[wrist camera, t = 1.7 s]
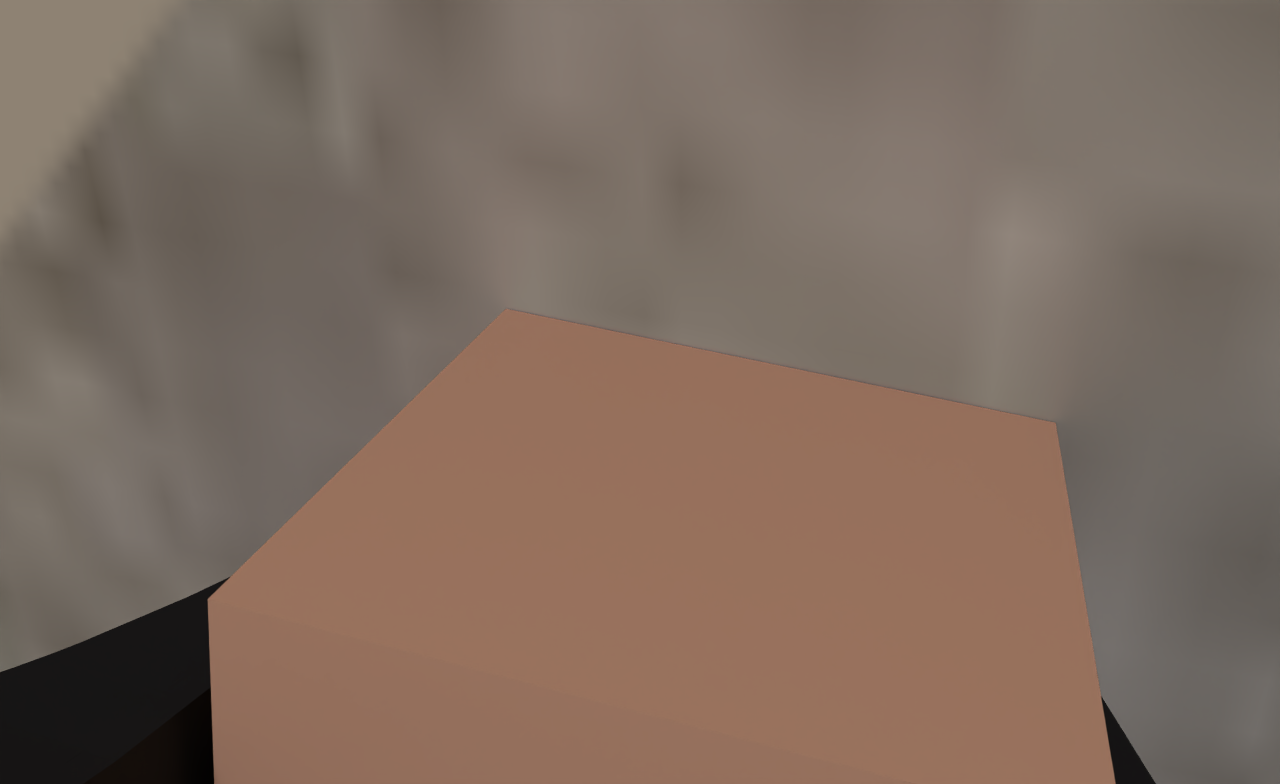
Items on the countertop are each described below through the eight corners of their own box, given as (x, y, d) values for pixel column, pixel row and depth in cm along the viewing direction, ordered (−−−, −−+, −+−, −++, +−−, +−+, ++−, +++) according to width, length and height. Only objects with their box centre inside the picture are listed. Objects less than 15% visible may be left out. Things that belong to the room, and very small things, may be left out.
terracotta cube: (1056, 422, 10) (1124, 838, 6) (927, 852, 13) (908, 1393, 8) (505, 308, 11) (208, 598, 7) (472, 729, 13) (226, 1160, 9)
